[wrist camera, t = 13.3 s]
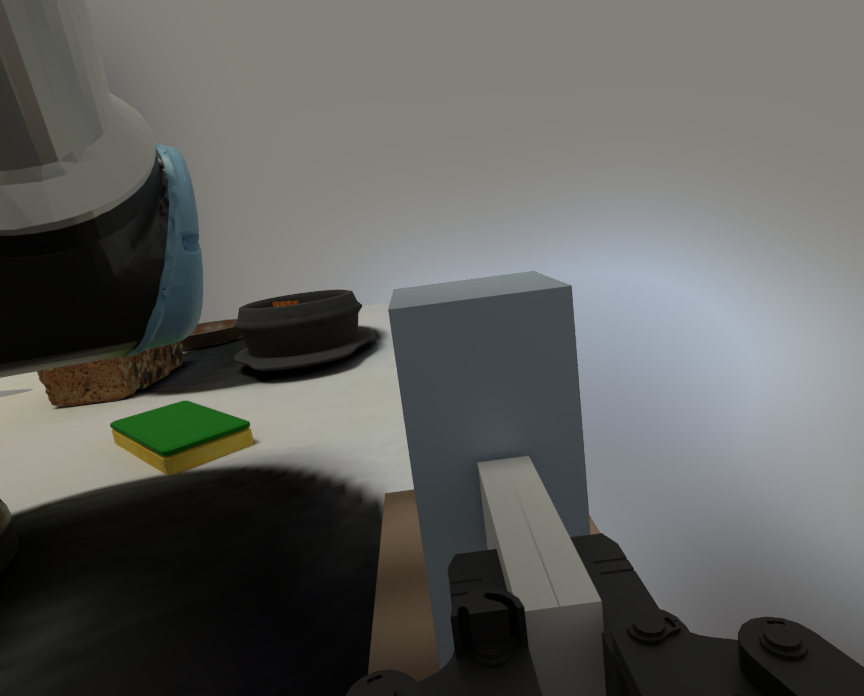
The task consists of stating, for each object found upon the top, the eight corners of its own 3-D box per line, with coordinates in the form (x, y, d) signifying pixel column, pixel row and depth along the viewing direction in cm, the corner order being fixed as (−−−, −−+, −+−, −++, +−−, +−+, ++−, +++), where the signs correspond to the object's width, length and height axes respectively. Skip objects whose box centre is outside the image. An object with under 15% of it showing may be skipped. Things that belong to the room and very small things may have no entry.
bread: (132, 401, 69) (112, 318, 67) (42, 413, 69) (19, 330, 67) (191, 364, 87) (176, 298, 85) (120, 373, 87) (104, 307, 85)
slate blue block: (600, 664, 18) (571, 285, 16) (442, 686, 18) (388, 309, 16) (560, 571, 23) (533, 271, 21) (436, 588, 23) (393, 289, 21)
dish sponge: (170, 481, 44) (162, 451, 43) (114, 446, 54) (108, 421, 53) (256, 448, 48) (251, 420, 48) (191, 422, 58) (186, 399, 58)
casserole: (247, 352, 90) (236, 299, 88) (366, 333, 93) (358, 281, 91) (222, 395, 66) (207, 322, 64) (385, 367, 69) (375, 297, 67)
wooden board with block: (748, 820, 15) (745, 635, 14) (362, 873, 15) (327, 692, 14) (563, 494, 33) (555, 402, 32) (388, 517, 33) (374, 426, 32)
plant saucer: (169, 341, 114) (166, 326, 113) (260, 329, 115) (257, 313, 114) (131, 361, 96) (127, 343, 96) (239, 346, 97) (235, 328, 97)
